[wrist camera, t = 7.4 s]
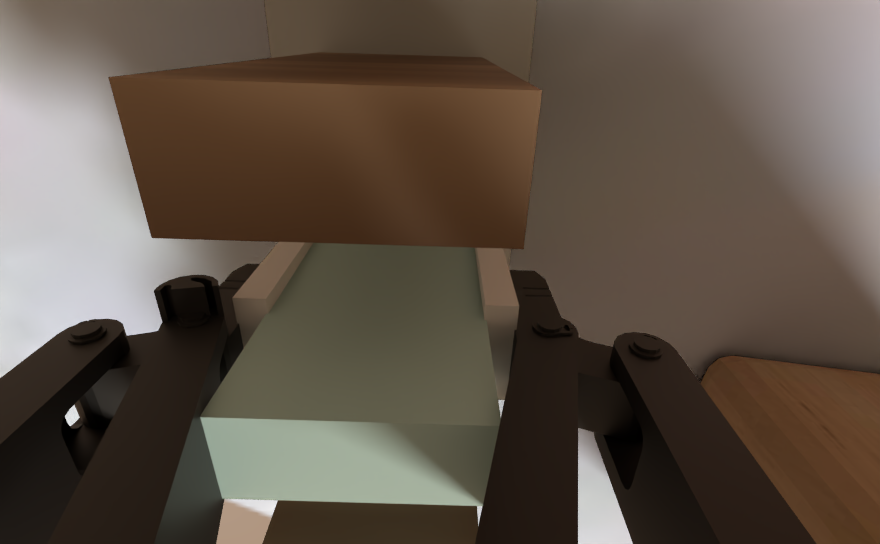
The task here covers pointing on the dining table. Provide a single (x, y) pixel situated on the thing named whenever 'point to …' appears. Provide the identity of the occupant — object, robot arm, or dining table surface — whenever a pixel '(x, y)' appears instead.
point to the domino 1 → (334, 150)
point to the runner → (407, 30)
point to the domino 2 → (371, 523)
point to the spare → (363, 384)
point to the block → (809, 439)
